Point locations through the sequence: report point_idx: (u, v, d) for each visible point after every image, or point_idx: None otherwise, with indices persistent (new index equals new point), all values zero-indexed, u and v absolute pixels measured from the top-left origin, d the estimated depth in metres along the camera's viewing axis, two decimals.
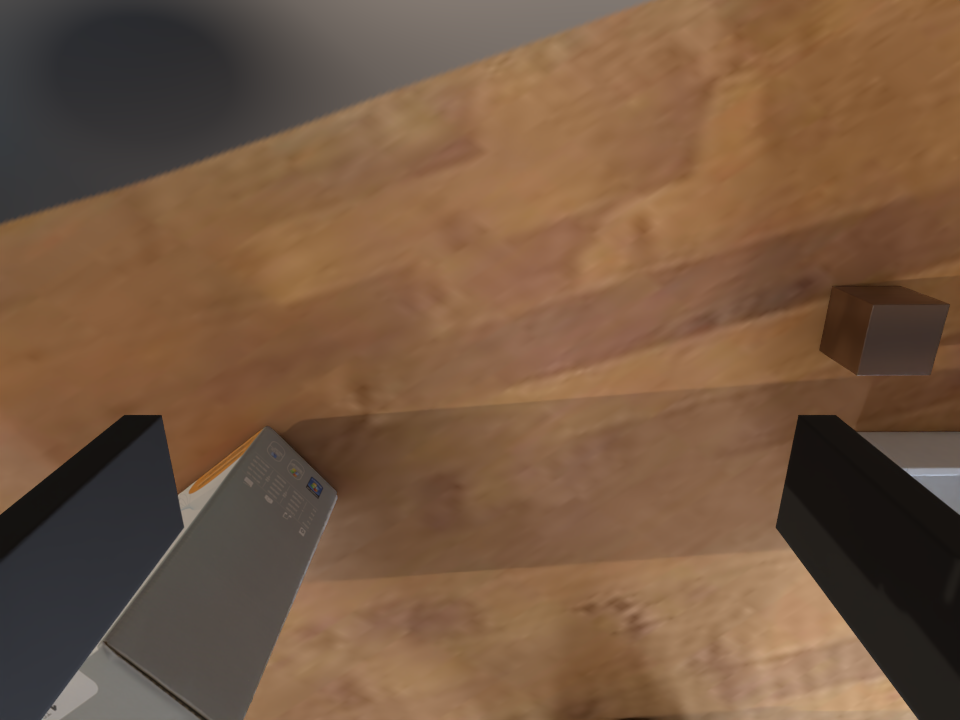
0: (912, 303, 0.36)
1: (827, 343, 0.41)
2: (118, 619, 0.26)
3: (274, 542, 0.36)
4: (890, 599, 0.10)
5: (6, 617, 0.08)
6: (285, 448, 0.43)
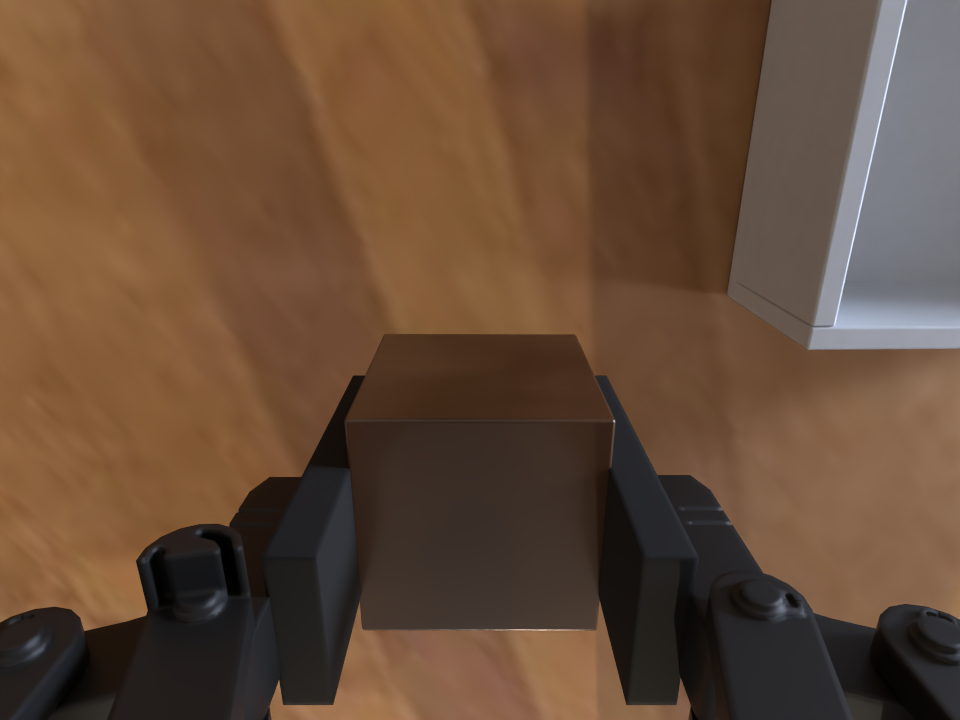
0: None
1: None
2: None
3: None
4: None
5: (348, 523, 0.10)
6: None
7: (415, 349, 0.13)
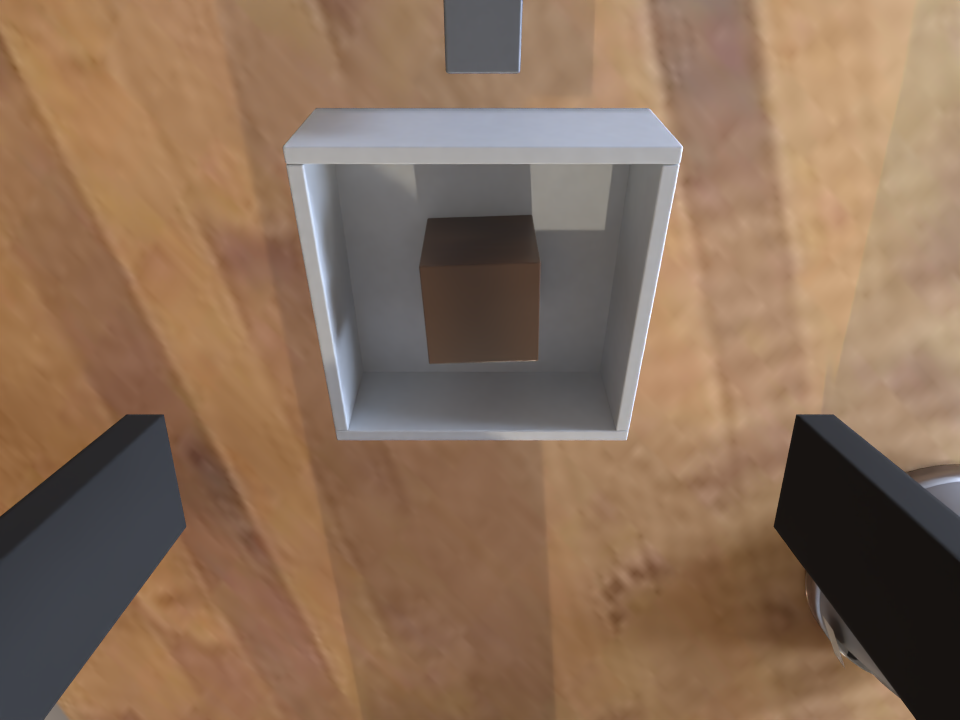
0: (424, 311, 0.24)
1: None
2: None
3: None
4: (887, 598, 0.10)
5: (10, 616, 0.08)
6: None
7: (446, 227, 0.25)
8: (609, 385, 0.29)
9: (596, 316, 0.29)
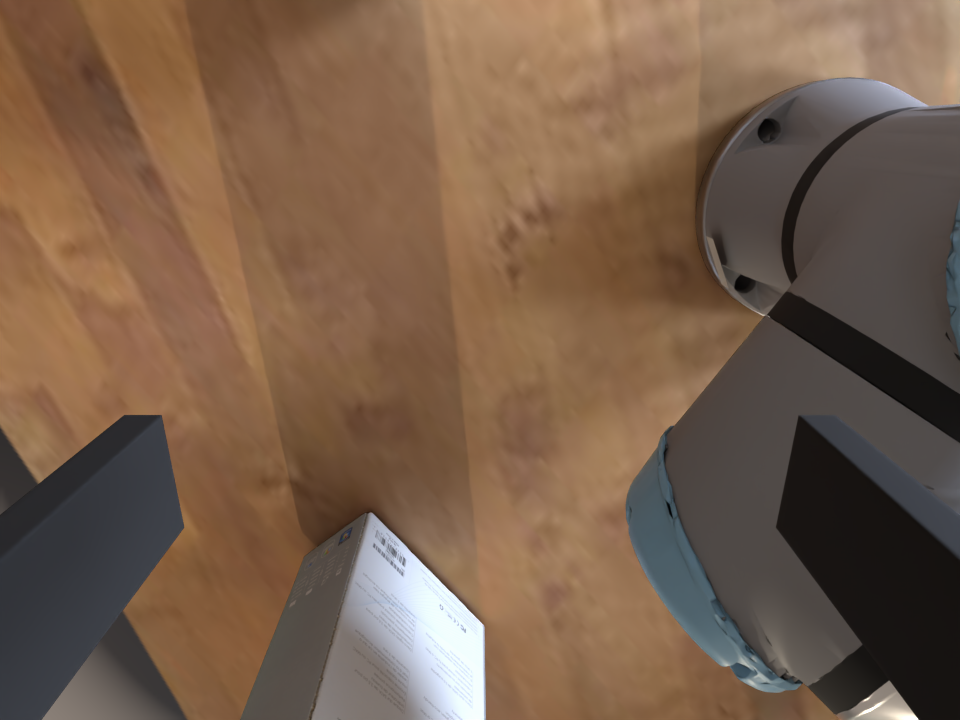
0: None
1: None
2: None
3: (316, 607, 0.41)
4: (890, 599, 0.10)
5: (7, 617, 0.08)
6: (317, 550, 0.49)
7: None
8: None
9: None
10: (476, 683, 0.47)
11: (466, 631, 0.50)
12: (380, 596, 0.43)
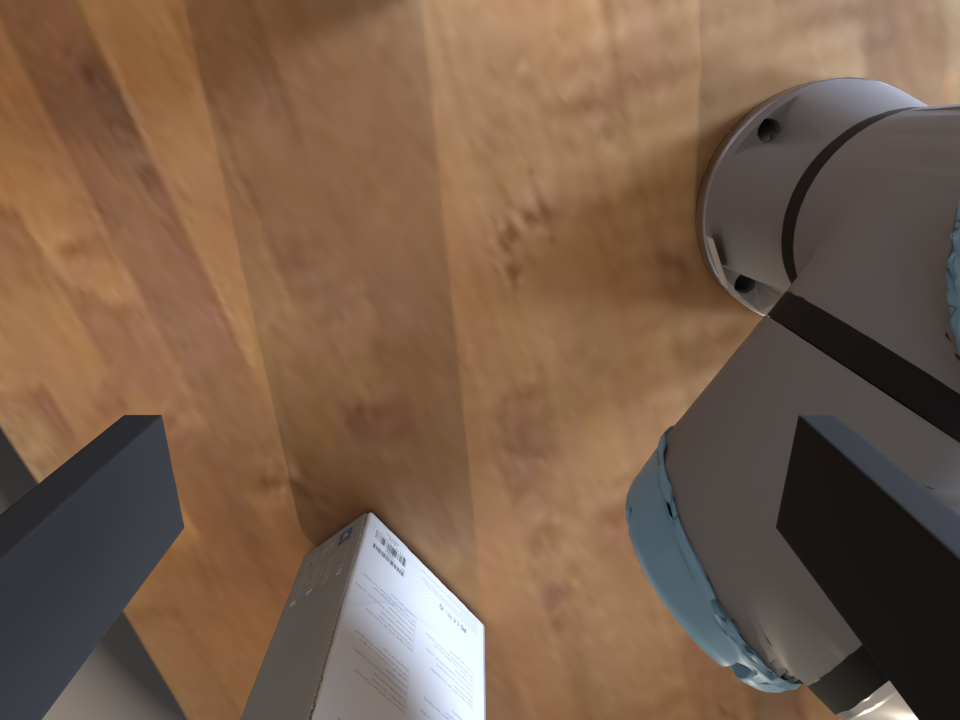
0: None
1: None
2: None
3: (316, 607, 0.41)
4: (890, 599, 0.10)
5: (7, 617, 0.08)
6: (317, 550, 0.49)
7: None
8: None
9: None
10: (476, 683, 0.47)
11: (466, 631, 0.50)
12: (380, 596, 0.43)
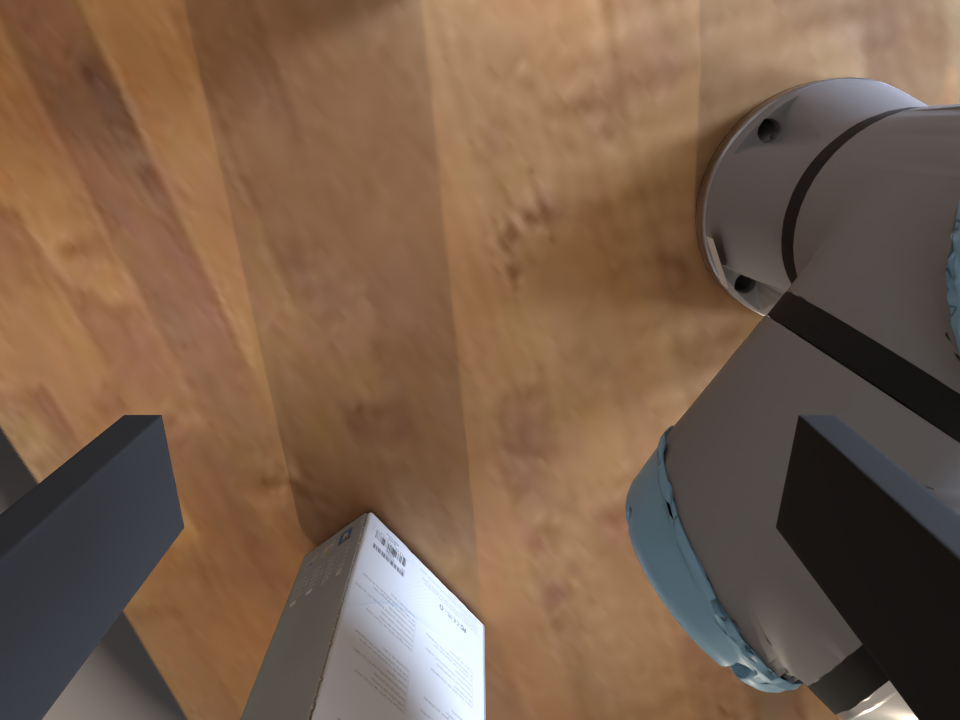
0: None
1: None
2: None
3: (316, 607, 0.41)
4: (890, 599, 0.10)
5: (7, 617, 0.08)
6: (317, 550, 0.49)
7: None
8: None
9: None
10: (476, 683, 0.47)
11: (466, 631, 0.50)
12: (380, 596, 0.43)
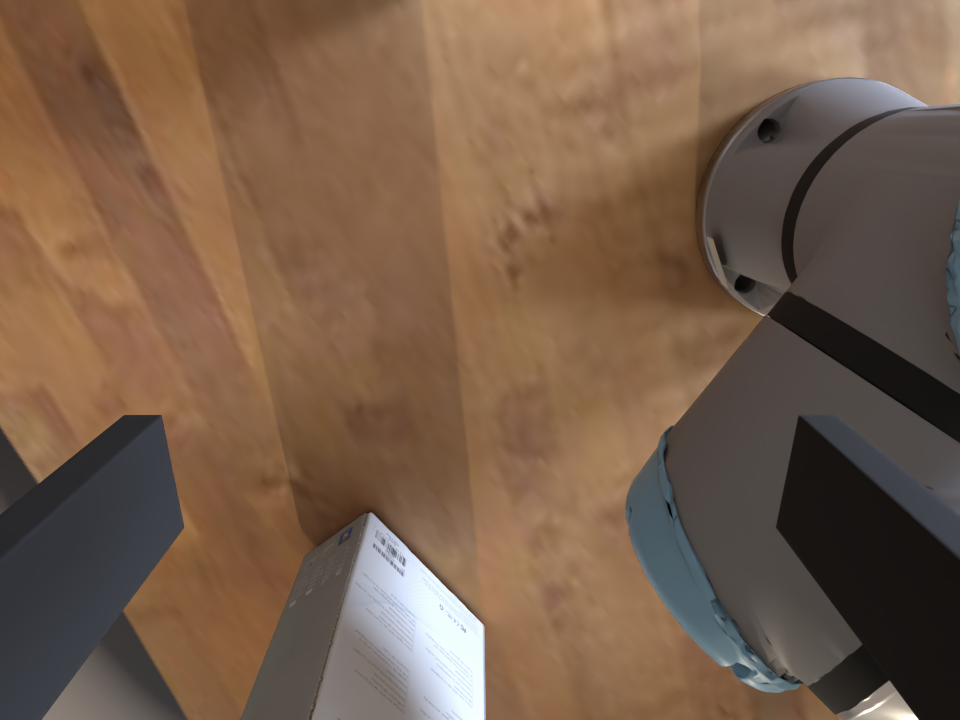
0: None
1: None
2: None
3: (316, 607, 0.41)
4: (890, 599, 0.10)
5: (7, 617, 0.08)
6: (317, 550, 0.49)
7: None
8: None
9: None
10: (476, 683, 0.47)
11: (466, 631, 0.50)
12: (380, 596, 0.43)
